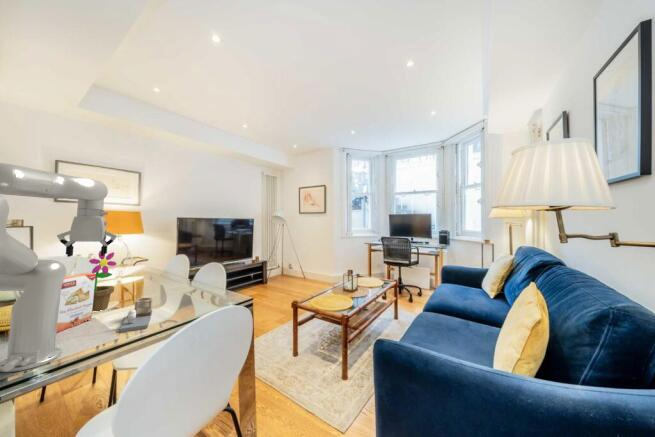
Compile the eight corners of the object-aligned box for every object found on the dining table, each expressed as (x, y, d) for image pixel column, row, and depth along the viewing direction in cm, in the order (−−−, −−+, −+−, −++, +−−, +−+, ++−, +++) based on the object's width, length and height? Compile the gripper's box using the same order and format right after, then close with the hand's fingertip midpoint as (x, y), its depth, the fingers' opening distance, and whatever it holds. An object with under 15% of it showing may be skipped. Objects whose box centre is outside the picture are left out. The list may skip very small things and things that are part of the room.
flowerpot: (87, 316, 110) (92, 251, 112) (64, 313, 113) (69, 250, 114) (120, 306, 124) (124, 249, 126) (98, 304, 127) (103, 247, 128)
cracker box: (57, 333, 93) (61, 279, 94) (42, 332, 93) (46, 278, 94) (92, 319, 107) (96, 273, 108) (79, 319, 107) (83, 272, 108)
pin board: (147, 328, 100) (148, 311, 101) (119, 332, 96) (120, 314, 96) (152, 313, 117) (153, 298, 118) (128, 316, 113) (129, 300, 113)
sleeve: (151, 311, 116) (152, 296, 116) (150, 315, 111) (151, 300, 111) (136, 313, 113) (137, 298, 113) (133, 317, 108) (135, 301, 108)
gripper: (120, 215, 105) (117, 254, 104) (63, 212, 95) (60, 255, 95) (116, 214, 98) (112, 256, 97) (55, 212, 89) (51, 257, 88)
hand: (86, 255), depth 96 cm, fingers open, 9 cm apart
